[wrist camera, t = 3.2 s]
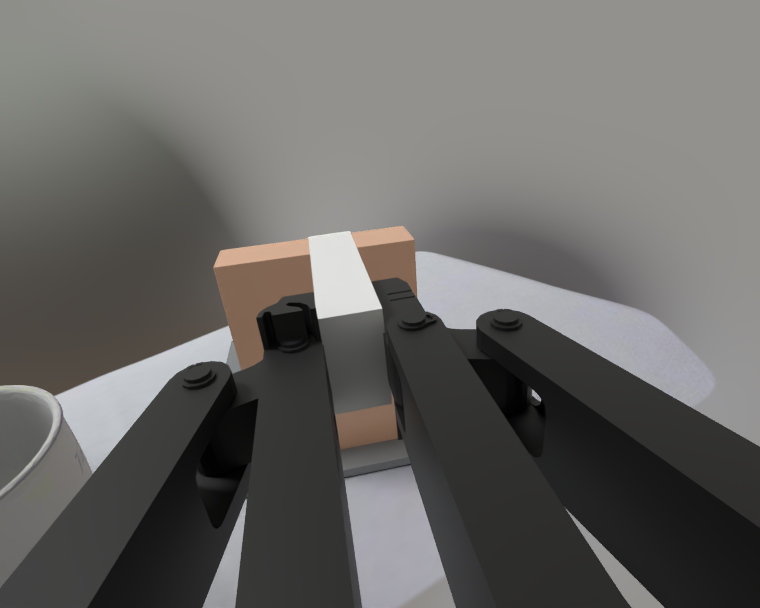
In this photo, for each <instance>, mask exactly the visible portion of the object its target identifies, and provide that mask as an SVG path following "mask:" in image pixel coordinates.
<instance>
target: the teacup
mask: <svg viewBox="0 0 760 608" xmlns="http://www.w3.org/2000/svg"><path fill="white" fill-rule="evenodd" d="M91 476H92V471H91V469H90V466H89V464H88V462H87V459H86V457H85V455H84V453H83V451H82V449H81V447H80V445H79V443H78V441H77V439H76V438H75V436H74V434H73V432H72V430H71V429H70V427H69V425H68V424H67V422H66V420H65V418H64V417H63V410H62V408H61V405H60V404H59V402H58V401H57V399H56V398H55V397H54V396H53V395H52V394H50V393H49V392H47V391H45V390H42V389H40V388H37V387H32V386H23V385H12V386H0V588H1V586H2V585H3V584H4V583H5V581H6V580H7V579H8V578H9V577H10V575H11V574H12V573H13V572H14V570H15V569H16V568H17V567H18V566H19V564H20V563H21V562H22V561H23V559H24V558H25V557H26V556H27V554H28V553H29V552H30V551H31V550H32V548H33V547H34V546H35V545H36V543H37V542H38V541H39V540H40V538H41V537H42V536H43V535H44V534H45V532H46V531H47V530H48V529H49V527H50V526H51V525H52V524H53V523H54V521H55V520H56V519H57V518H58V516H59V515H60V514H61V513H62V511H63V510H64V509H65V508H66V507H67V505H68V504H69V503H70V502H71V500H72V499H73V498H74V497H75V495H76V494H77V493H78V492H79V491H80V489H81V488H82V487H83V486H84V484H85V483H86V482H87V481H88V479H89V478H90V477H91Z"/></svg>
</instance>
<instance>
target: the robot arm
mask: <svg viewBox="0 0 760 608" xmlns="http://www.w3.org/2000/svg"><path fill="white" fill-rule="evenodd" d="M308 240H309V249H310V259H311V268H312V278H313V287H314V292H310V293H304V294H297V295H291V296H285V297H282V298H281V299H280V300H279V301H278V302H277V303H276V304H273V305H271V306H269V307H266V308H265V309H263V310H262V311H261V312H259V314H258V315H257V317H256V320H257V324H258V328H259V332H260V336H261V340H262V344H263V348H264V354H263V360H261V361H260V362H258V363H257V364H255V365H253V366H251V367H249V368H246V369H244V370H241V371H238V372H235V373H233V374H232V371H231V369H230V367H229V365H227V364H225V363H223V362H215V361H210V362H201V363H197V364H196V365H194V364H193V365H191V366H188V367H187V368H185V369H184V370H182V371H180V372H178V373H177V374H176V375H175V376H173V377H172V378H171V379H170V380H169V381H168V382H167V384H166V385H165V386H164V387H163V389H162V390H161V391H160V392H159V393H158V395H157V396H156V397H155V398H154V400H153V401H152V402H151V403H150V405H149V406H148V407H147V408H146V409H145V411H144V412H143V413H142V414H141V416H140V417H139V418H138V419H137V421H136V422H135V423H134V424H133V425H132V427H131V428H130V429H129V430H128V432H127V433H126V434H125V435H124V436H123V438H122V439H121V440H120V441H119V443H118V444H117V445H116V446H115V448H114V449H113V450H112V451H111V452H110V454H109V455H108V456H107V457H106V459H105V460H104V461H103V462H102V464H101V465H100V466H99V467H98V468H97V470H96V471H95V472H94V473H93V475H92V476H91V477H90V478H89V479H88V481H87V482H86V483H85V484H84V486H83V487H82V488H81V489H80V491H79V492H78V493H77V494H76V495H75V497H74V498H73V499H72V500H71V502H70V503H69V504H68V505H67V507H66V508H65V509H64V510H63V511H62V513H61V514H60V515H59V516H58V518H57V519H56V520H55V521H54V523H53V524H52V525H51V526H50V527H49V529H48V530H47V531H46V532H45V534H44V535H43V536H42V537H41V538H40V540H39V541H38V542H37V543H36V545H35V546H34V547H33V548H32V550H31V551H30V552H29V553H28V554H27V556H26V557H25V558H24V559H23V561H22V562H21V563H20V564H19V566H18V567H17V568H16V569H15V570H14V572H13V573H12V574H11V575H10V577H9V578H8V579H7V580H6V581H5V583H4V584H3V585H2V586H1V588H0V608H202V607H203V604H204V602H205V599H206V597H207V594H208V592H209V589H210V587H211V584H212V582H213V579H214V577H215V574H216V572H217V569H218V567H219V564H220V561H221V559H222V556H223V554H224V551H225V549H226V546H227V544H228V541H229V539H230V536H231V534H232V531H233V529H234V526H235V524H236V521H237V519H238V516H239V514H240V511H241V509H242V506H243V504H244V501H245V499H246V496H247V494H248V498H247V507H246V516H245V525H244V534H243V543H242V552H241V561H240V570H239V579H238V588H237V597H236V606H235V608H362V603H361V596H360V589H359V582H358V574H357V567H356V560H355V552H354V545H353V538H352V531H351V523H350V516H349V509H348V501H347V494H346V487H345V480H344V472H343V465H342V458H341V450H340V443H339V436H338V429H337V423H336V417H335V415H336V414H341V413H346V412H352V411H357V410H362V409H367V408H372V407H378V406H383V405H388V404H392V396H391V392H392V395H393V398H394V405H395V415H396V424H397V434H398V440H402V439H403V441H404V444H405V447H406V451H407V454H408V457H409V460H410V463H411V466H412V470H413V473H414V476H415V479H416V482H417V485H418V489H419V492H420V495H421V498H422V501H423V504H424V508H425V511H426V514H427V517H428V520H429V523H430V527H431V530H432V533H433V536H434V539H435V542H436V546H437V549H438V552H439V555H440V558H441V561H442V565H443V568H444V571H445V574H446V577H447V581H448V584H449V586H450V590H451V593H452V596H453V599H454V603H455V606H456V608H631V607H630V605H629V604H628V603H627V601H626V600H625V599H624V597H623V596H622V594H621V593H620V591H619V590H618V588H617V587H616V585H615V584H614V582H613V581H612V579H611V578H610V576H609V575H608V573H607V572H606V570H605V568H604V567H603V565H602V564H601V563H600V561H599V559H598V558H597V556H596V555H595V553H594V552H593V550H592V549H591V547H590V546H589V544H588V543H587V541H586V540H585V538H584V537H583V535H582V533H581V532H580V530H579V529H578V527H577V526H576V524H575V523H574V521H573V520H572V518H571V517H570V515H569V514H568V512H567V511H566V509H567V510H568V511H569V512H570V513H571V514H572V515H573V516H574V517H575V518H576V519H577V520H578V521H579V522H580V523H581V524H582V525H583V526H584V527H585V528H586V529H587V530H588V531H589V532H590V533H591V534H592V535H593V536H594V537H595V538H596V539H597V540H598V541H599V542H600V543H601V544H602V545H603V546H604V547H605V548H606V549H607V550H608V551H609V552H610V553H611V554H612V555H613V556H614V557H615V558H616V559H617V560H618V561H619V562H620V563H621V564H622V565H623V566H624V567H625V568H626V569H627V570H628V571H629V572H630V573H631V574H632V575H633V576H634V577H635V578H636V579H637V580H638V581H639V582H640V583H641V584H642V585H643V586H644V587H645V588H646V589H647V590H648V591H649V592H650V593H651V594H652V595H653V596H654V597H655V598H656V599H657V600H658V601H659V602H660V603H661V604H662V605H663V606H664V607H665V608H760V447H759V446H758V445H756V444H754V443H752V442H750V441H749V440H747V439H745V438H743V437H742V436H740V435H738V434H736V433H735V432H733V431H731V430H729V429H728V428H726V427H724V426H722V425H721V424H719V423H717V422H715V421H713V420H712V419H710V418H708V417H707V416H705V415H703V414H701V413H700V412H698V411H696V410H694V409H693V408H691V407H689V406H687V405H686V404H684V403H682V402H680V401H679V400H677V399H675V398H673V397H672V396H670V395H668V394H666V393H665V392H663V391H661V390H659V389H658V388H656V387H654V386H652V385H650V384H649V383H647V382H645V381H643V380H642V379H640V378H638V377H636V376H635V375H633V374H631V373H629V372H628V371H626V370H624V369H622V368H621V367H619V366H617V365H615V364H614V363H612V362H610V361H608V360H607V359H605V358H603V357H601V356H600V355H598V354H596V353H594V352H593V351H591V350H589V349H587V348H586V347H584V346H582V345H580V344H579V343H577V342H575V341H573V340H572V339H570V338H568V337H566V336H564V335H563V334H561V333H559V332H557V331H556V330H554V329H552V328H550V327H549V326H547V325H545V324H543V323H542V322H540V321H538V320H536V319H535V318H533V317H531V316H529V315H527V314H525V313H522V312H519V311H513V310H510V309H504V310H503V309H498V310H495V311H490V312H487V313H484V314H482V315H480V317H479V318H478V319H477V320H476V329H450V328H446V326H445V325H444V323H443V322H442V320H441V319H440V318H439V317H438V316H437V315H435V314H432V313H429V312H425V310H424V309H423V307H422V306H421V304H420V302H419V301H418V299H417V297H415V294H414V293H413V291H412V289H411V288H410V286H409V284H408V283H407V282H405V281H403V280H401V279H399V278H397V277H396V278H390V279H383V280H377V281H371V280H370V278H369V276H368V273H367V271H366V269H365V266H364V264H363V261H362V259H361V257H360V254H359V252H358V249H357V247H356V245H355V242H354V240H353V238H352V235H351V233H350V231H346V232H339V233H332V234H325V235H318V236H311V237H308ZM532 389H533V390H534V391H535V392H536V393H537V394H538V395H539V396H540V398H541V402H540V401H538V400H537V399H535V398H534V397H533V396H532ZM564 507H565V508H566V509H565V508H564Z"/></svg>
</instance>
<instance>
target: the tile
mask: <svg viewBox="0 0 760 608" xmlns="http://www.w3.org/2000/svg"><path fill="white" fill-rule="evenodd" d="M351 235H352V238H353V240H354V242H355V245H356V247H357V249H358V252H359V254H360V257H361V259H362V261H363V264H364V266H365V269H366V271H367V273H368V276H369V278H370V280H371V281H377V280H383V279H390V278H396V277H397V278H399V279H401V280H403V281H405V282H407V283H408V284H409V286H410V288H411V289H412V291H413V293H414V294H415V297H417V282H416V262H415V245H414V244H415V243H414V239H413V237H412V236H411V235H410V234H409V233H408V231H407V230H406V229H405V228H404V226H398V227H391V228H383V229H376V230H368V231H362V232H354V233H351ZM213 268H214V272H215V276H216V279H217V283H218V287H219V290H220V294H221V298H222V302H223V305H224V309H225V313H226V316H227V320H228V323H229V327H230V331H231V335H232V338H233V342H234V346H235V349H236V353H237V357H238V361H239V364H240V368H241V370H244V369H246V368H249V367H251V366H253V365H255V364H257V363H258V362H260V361H261V360H263V354H264V348H263V344H262V340H261V336H260V332H259V328H258V324H257V320H256V317H257V315H258V314H259V312H261V311H262V310H263V309H265V308H266V307H269V306H271V305H273V304H276V303H277V302H278V301H279V300H280V299H281V298H282V297H285V296H291V295H297V294H304V293H310V292H314V287H313V278H312V268H311V259H310V249H309V240H308V239H303V240H294V241H287V242H280V243H273V244H265V245H257V246H250V247H243V248H235V249H228V250H221V251H220V254H219V256H218V258H217V261H216V263H215V265H214V267H213ZM391 396H392V404H388V405H383V406H378V407H372V408H367V409H362V410H357V411H352V412H346V413H341V414H336V415H335V417H336V423H337V429H338V436H339V443H340V450H341V449H346V448H351V447H356V446H361V445H366V444H372V443H377V442H382V441H387V440H392V439H397V438H398V434H397V424H396V415H395V405H394V398H393V395H392V392H391Z"/></svg>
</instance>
